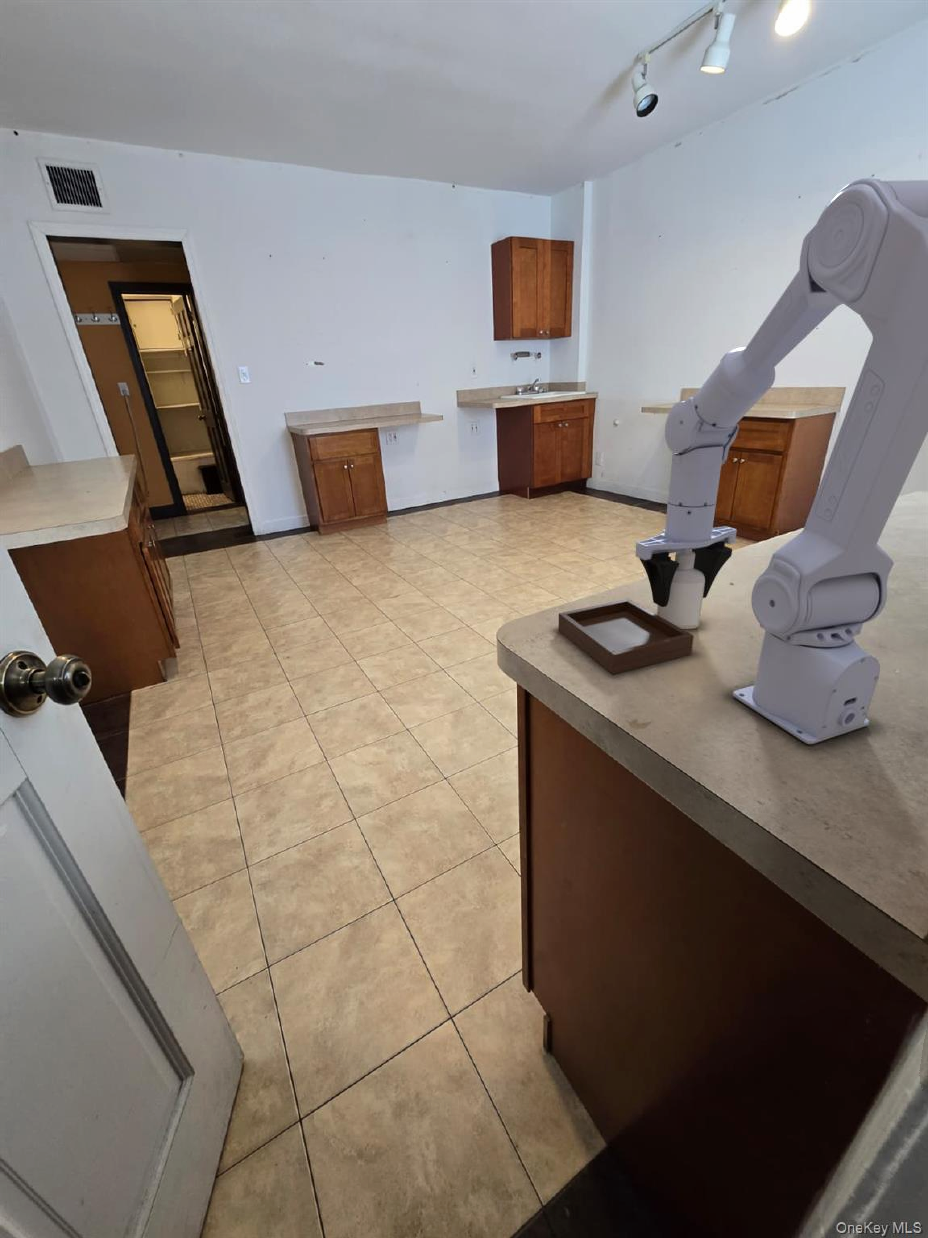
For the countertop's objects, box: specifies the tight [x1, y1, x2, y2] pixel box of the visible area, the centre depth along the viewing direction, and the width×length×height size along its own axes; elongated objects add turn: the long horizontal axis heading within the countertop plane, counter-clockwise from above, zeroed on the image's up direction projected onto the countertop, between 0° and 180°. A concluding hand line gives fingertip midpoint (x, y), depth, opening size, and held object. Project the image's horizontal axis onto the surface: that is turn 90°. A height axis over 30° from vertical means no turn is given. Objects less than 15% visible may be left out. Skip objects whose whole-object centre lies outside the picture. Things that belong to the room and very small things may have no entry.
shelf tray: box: [558, 598, 695, 675], centre depth 69 cm, size 14×12×3 cm
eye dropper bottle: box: [656, 548, 705, 630], centre depth 70 cm, size 4×6×12 cm
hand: (679, 599), depth 71 cm, fingers open, 6 cm apart
